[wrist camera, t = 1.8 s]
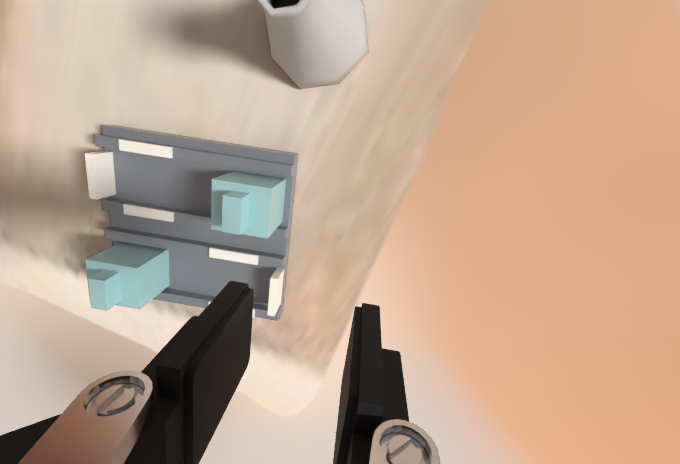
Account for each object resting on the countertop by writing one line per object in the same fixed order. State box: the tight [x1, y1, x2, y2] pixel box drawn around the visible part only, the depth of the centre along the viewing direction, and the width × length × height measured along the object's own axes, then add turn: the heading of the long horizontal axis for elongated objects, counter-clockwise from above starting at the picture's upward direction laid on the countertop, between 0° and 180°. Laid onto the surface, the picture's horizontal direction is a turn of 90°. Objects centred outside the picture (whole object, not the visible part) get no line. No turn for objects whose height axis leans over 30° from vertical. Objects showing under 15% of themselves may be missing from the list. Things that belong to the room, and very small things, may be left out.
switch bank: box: [85, 125, 298, 320], centre depth 27 cm, size 14×15×3 cm
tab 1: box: [85, 241, 170, 311], centre depth 26 cm, size 4×4×6 cm
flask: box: [256, 0, 369, 89], centre depth 18 cm, size 7×7×10 cm
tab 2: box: [211, 171, 286, 239], centre depth 23 cm, size 4×4×6 cm
